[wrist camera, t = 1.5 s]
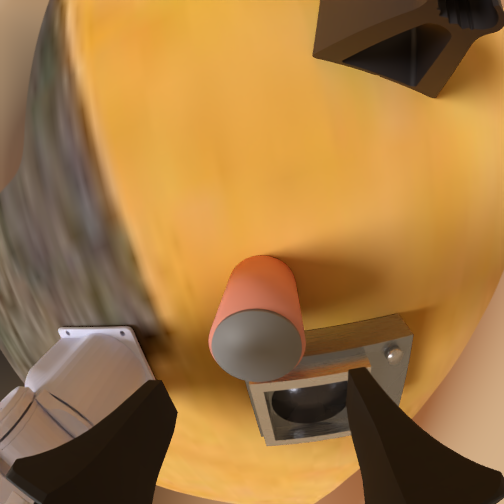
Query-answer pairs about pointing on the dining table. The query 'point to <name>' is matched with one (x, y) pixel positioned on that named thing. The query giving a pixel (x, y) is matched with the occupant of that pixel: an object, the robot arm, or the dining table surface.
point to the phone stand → (404, 37)
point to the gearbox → (330, 380)
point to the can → (258, 322)
